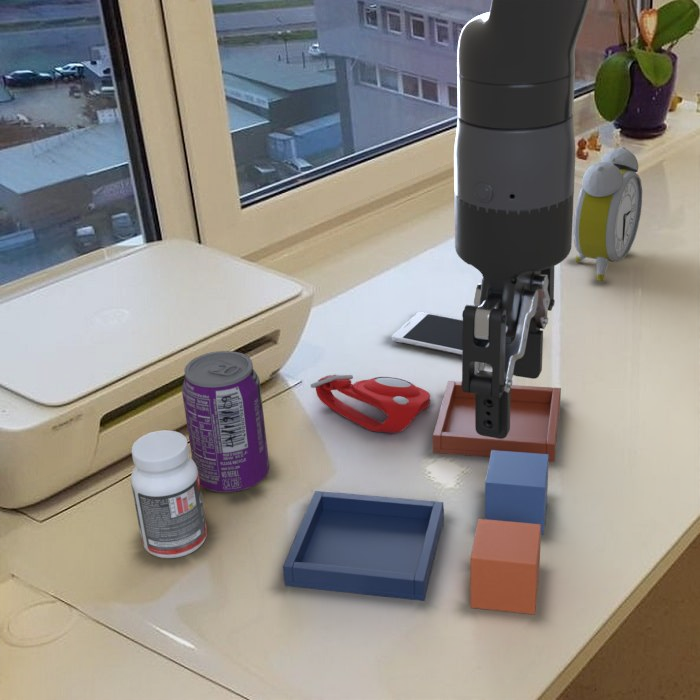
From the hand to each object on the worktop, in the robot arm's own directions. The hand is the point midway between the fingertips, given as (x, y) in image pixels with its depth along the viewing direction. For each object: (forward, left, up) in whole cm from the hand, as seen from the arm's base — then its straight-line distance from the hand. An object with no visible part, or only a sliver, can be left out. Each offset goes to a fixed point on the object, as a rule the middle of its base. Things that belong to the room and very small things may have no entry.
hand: (510, 403), depth 75 cm
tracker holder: (+16, -28, -19) cm, 37 cm away
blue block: (0, -12, -18) cm, 22 cm away
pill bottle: (+29, -4, -19) cm, 35 cm away
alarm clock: (-6, -67, -19) cm, 69 cm away
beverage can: (+27, -14, -19) cm, 36 cm away
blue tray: (+12, -5, -18) cm, 23 cm away
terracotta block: (0, -2, -18) cm, 19 cm away
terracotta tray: (+3, -26, -18) cm, 32 cm away
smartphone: (+9, -44, -19) cm, 48 cm away
